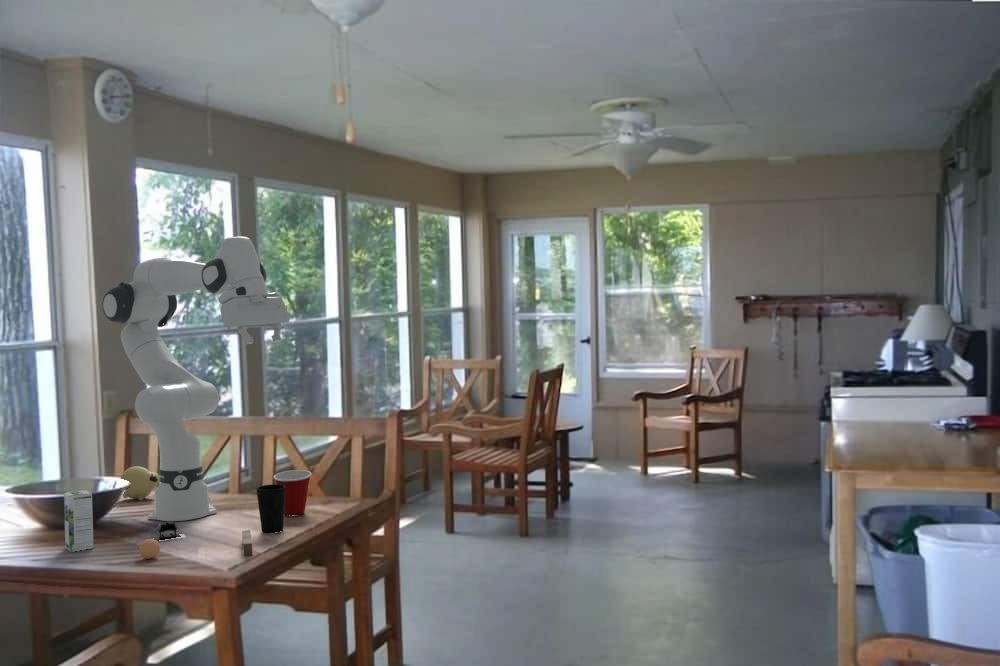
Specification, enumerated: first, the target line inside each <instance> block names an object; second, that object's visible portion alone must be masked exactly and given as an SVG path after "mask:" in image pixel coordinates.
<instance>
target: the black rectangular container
mask: <svg viewBox="0 0 1000 666" xmlns="http://www.w3.org/2000/svg"><path fill="white" fill-rule="evenodd" d="M177 530H178V528H177V525H176V523H175V521H164V522H158V526H157V536H155V537H151V538H152V539H153V538H154V540H156V541H159V540H165V539H171V538H176V537H181V536H180V535H179V534H180V533H177ZM167 531H168V532H169V531H171V532H170V533H166V534H162V533H165V532H167Z"/></svg>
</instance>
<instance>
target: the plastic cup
mask: <svg viewBox="0 0 1000 666" xmlns="http://www.w3.org/2000/svg"><path fill="white" fill-rule="evenodd" d="M311 476H312V472H311V471H309V470H306V469H305V470H304V469H303V470H302V469H293V470H287V471H281V472H278V473H276V474H274V475H273V479H274V480H275V482H276V483H275V484H279V485H284V486H286V489H285V506H284V516H285V515H288V516H287V517H290V516H292V515H300V516H302V515H301V514H303V515H304V514H305V511H306V504H307V497H308V490H309V483H310V480H311V479H310V478H311ZM289 515H290V516H289ZM292 517H293V516H292Z"/></svg>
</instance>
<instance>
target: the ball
mask: <svg viewBox="0 0 1000 666" xmlns="http://www.w3.org/2000/svg"><path fill="white" fill-rule="evenodd" d="M160 550H161V546H160V543H159V542H157V541H156V540H154V539H148V538H147V539H144V540H142V542H141V543H140V545H139V547H138V552H139V554H140V556H141V557H142V558H143V559H147V560H150V559H151V558H152V559H154V558H155V557H157V556H158V555H159V553H160Z"/></svg>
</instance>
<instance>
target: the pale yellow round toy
mask: <svg viewBox="0 0 1000 666" xmlns="http://www.w3.org/2000/svg"><path fill="white" fill-rule="evenodd" d="M120 479H124V480H127V481H129V482H130V483H131V487H130V488H128V489H127V490H126V491H125V492H124V494H123V493H122V497H123V498H124V499H126V498H130V499H136V500H138V501H143V500H144V498H147V497H148V496H149V495H151V493H152V491H153V490H155V489H156V488H157V487H158V486H159V485H160V483H161V482H160V478H159V473H158V472H157V471H150V470H149V469H147V468H145V467H142V466H138V465H137V466H136V465H135V466H130V467H128V468H127V469H126V470H125V471H124V472H123V473H122V475H121V477H120Z"/></svg>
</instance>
